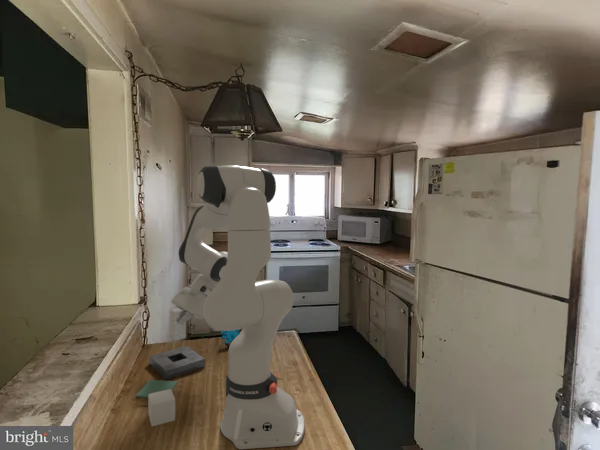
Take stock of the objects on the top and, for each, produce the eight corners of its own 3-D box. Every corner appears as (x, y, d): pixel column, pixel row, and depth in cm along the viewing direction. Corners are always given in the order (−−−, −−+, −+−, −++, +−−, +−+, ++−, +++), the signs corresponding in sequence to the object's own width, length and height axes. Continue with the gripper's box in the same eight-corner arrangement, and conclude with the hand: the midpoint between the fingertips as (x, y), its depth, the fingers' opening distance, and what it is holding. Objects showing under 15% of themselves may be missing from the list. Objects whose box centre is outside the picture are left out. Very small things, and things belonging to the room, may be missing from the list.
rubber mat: (177, 383, 116) (177, 381, 115) (165, 398, 107) (165, 397, 106) (149, 381, 116) (149, 379, 116) (136, 397, 107) (136, 395, 107)
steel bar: (180, 334, 129) (180, 307, 128) (185, 337, 126) (185, 310, 125) (169, 337, 126) (169, 309, 125) (174, 340, 123) (174, 312, 123)
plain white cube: (151, 427, 94) (151, 405, 93) (148, 414, 99) (148, 394, 99) (175, 420, 97) (175, 399, 96) (170, 408, 102) (171, 388, 102)
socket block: (186, 353, 137) (186, 345, 137) (204, 366, 127) (204, 358, 127) (149, 364, 127) (149, 356, 127) (166, 379, 117) (166, 371, 117)
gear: (227, 347, 140) (219, 324, 145) (220, 354, 142) (212, 332, 147) (249, 343, 148) (240, 322, 153) (241, 350, 151) (233, 329, 156)
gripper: (183, 279, 137) (157, 309, 131) (210, 290, 122) (183, 324, 116) (194, 289, 140) (169, 318, 134) (221, 301, 126) (195, 334, 120)
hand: (176, 321), depth 125 cm, fingers closed on steel bar, 4 cm apart
